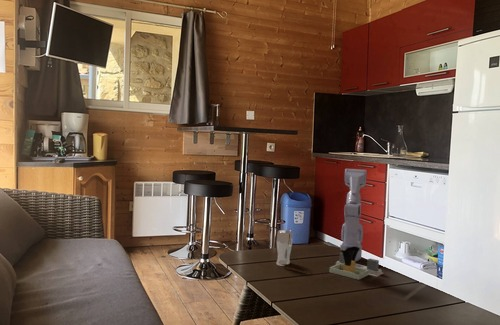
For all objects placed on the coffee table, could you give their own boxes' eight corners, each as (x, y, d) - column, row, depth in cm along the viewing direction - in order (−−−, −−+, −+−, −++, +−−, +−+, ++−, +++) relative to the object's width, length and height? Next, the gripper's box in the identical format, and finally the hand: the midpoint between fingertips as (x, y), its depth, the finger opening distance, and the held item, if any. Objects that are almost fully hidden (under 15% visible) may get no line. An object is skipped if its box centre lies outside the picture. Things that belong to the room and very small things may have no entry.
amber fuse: (345, 271, 176) (346, 259, 176) (354, 274, 173) (355, 261, 173) (343, 273, 174) (343, 260, 174) (352, 275, 171) (352, 262, 171)
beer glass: (272, 264, 184) (274, 231, 183) (279, 261, 190) (280, 229, 190) (287, 267, 181) (289, 233, 180) (293, 264, 187) (295, 231, 186)
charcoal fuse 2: (369, 271, 179) (369, 258, 178) (378, 273, 176) (378, 260, 176) (366, 272, 177) (367, 259, 177) (375, 274, 174) (376, 261, 174)
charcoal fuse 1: (341, 264, 187) (342, 252, 187) (349, 266, 184) (350, 254, 184) (339, 265, 185) (339, 253, 185) (347, 267, 182) (348, 255, 182)
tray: (339, 270, 181) (339, 263, 181) (368, 277, 173) (368, 270, 173) (329, 274, 174) (329, 267, 174) (358, 282, 166) (359, 274, 166)
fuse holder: (340, 264, 190) (341, 259, 190) (383, 275, 177) (383, 269, 177) (333, 267, 184) (333, 262, 184) (376, 278, 172) (377, 272, 171)
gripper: (352, 236, 165) (350, 270, 165) (367, 231, 176) (365, 263, 176) (336, 233, 169) (334, 266, 170) (352, 229, 180) (350, 260, 181)
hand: (349, 264), depth 173 cm, fingers closed on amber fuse, 2 cm apart
